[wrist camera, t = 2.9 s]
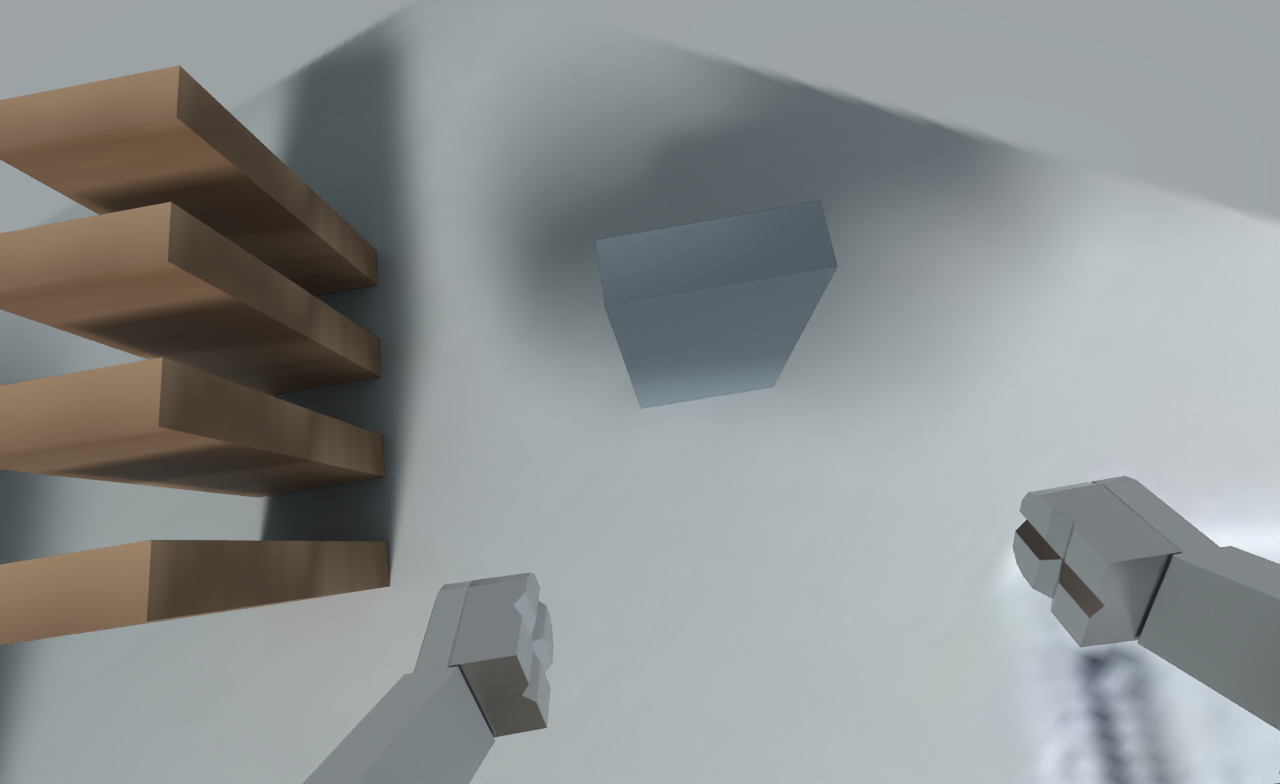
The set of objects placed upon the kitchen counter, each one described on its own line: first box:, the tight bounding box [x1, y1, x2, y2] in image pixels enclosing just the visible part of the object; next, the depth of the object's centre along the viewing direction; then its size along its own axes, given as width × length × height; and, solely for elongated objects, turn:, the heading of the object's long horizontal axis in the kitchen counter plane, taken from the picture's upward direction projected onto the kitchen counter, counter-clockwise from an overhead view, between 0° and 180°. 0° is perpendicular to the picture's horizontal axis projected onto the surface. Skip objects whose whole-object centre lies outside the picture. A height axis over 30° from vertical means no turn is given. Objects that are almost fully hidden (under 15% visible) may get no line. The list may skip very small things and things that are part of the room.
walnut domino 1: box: [0, 66, 377, 296], centre depth 20 cm, size 2×5×10 cm, turn 99°
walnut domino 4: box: [0, 540, 389, 645], centre depth 17 cm, size 2×5×10 cm, turn 99°
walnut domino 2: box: [0, 202, 381, 396], centre depth 19 cm, size 2×5×10 cm, turn 99°
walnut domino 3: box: [0, 357, 385, 497], centre depth 18 cm, size 2×5×10 cm, turn 99°
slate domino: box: [595, 201, 837, 408], centre depth 18 cm, size 2×5×10 cm, turn 99°
